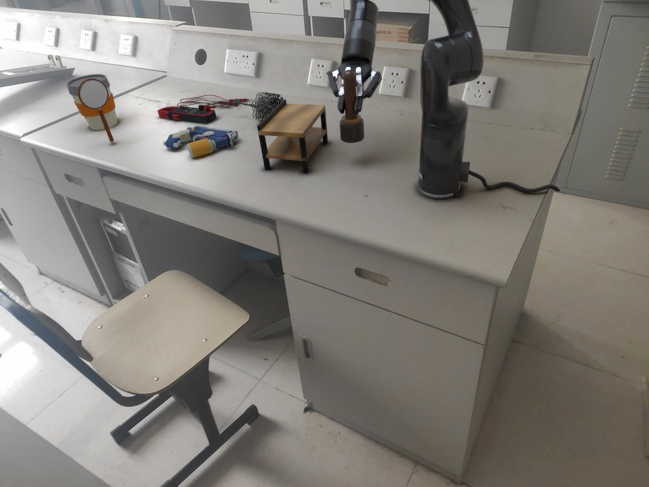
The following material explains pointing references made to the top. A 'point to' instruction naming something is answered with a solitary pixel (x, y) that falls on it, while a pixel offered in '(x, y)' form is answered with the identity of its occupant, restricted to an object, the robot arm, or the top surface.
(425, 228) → the top surface
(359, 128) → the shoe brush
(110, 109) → the reusable coffee cup
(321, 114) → the tan black-edged stand
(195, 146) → the spray gun
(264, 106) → the massage brush
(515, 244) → the top surface
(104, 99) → the magnifying glass
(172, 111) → the digital clamp meter
